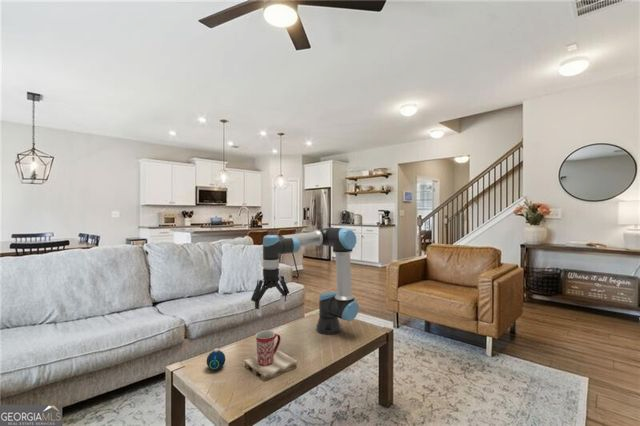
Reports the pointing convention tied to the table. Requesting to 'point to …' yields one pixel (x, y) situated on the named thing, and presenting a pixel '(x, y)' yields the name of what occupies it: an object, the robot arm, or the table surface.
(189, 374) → the table surface
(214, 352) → the christmas ornament
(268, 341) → the mug
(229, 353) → the table surface
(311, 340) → the table surface
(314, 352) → the table surface
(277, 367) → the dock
